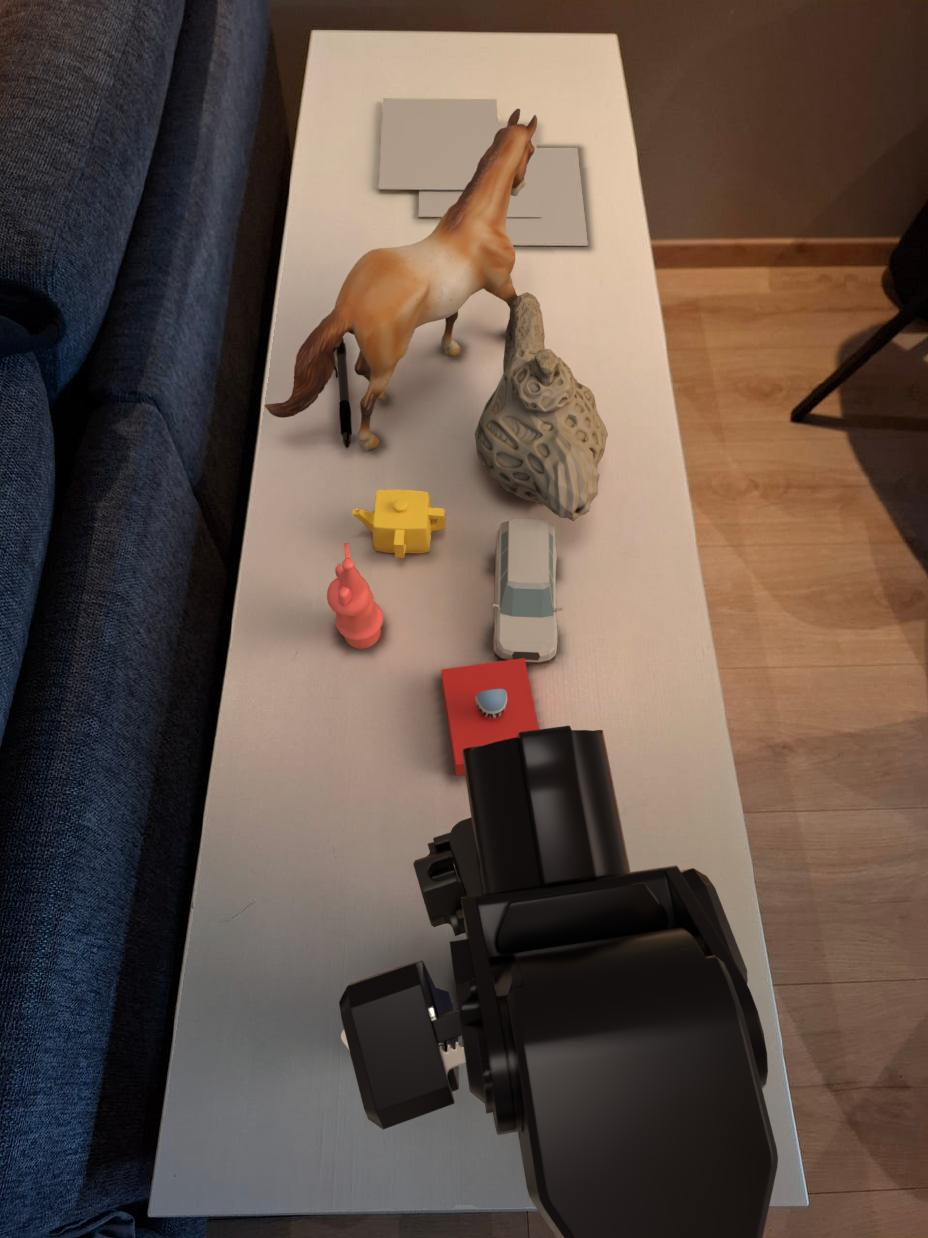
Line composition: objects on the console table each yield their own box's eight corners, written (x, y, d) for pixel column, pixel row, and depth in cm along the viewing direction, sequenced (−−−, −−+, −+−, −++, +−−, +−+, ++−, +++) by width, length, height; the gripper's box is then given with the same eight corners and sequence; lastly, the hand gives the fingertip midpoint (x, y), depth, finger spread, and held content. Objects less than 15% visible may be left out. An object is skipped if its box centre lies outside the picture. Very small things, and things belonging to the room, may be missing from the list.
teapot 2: (623, 549, 77) (660, 444, 64) (499, 571, 76) (510, 468, 63) (563, 372, 87) (584, 248, 73) (451, 389, 86) (451, 266, 72)
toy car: (489, 669, 72) (491, 644, 67) (492, 539, 78) (495, 508, 73) (557, 672, 72) (565, 647, 67) (556, 541, 78) (562, 510, 73)
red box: (540, 763, 68) (548, 737, 63) (455, 775, 68) (456, 750, 62) (521, 671, 72) (528, 639, 66) (441, 682, 71) (440, 651, 66)
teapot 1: (353, 568, 76) (347, 537, 71) (359, 514, 79) (353, 480, 74) (444, 571, 76) (443, 540, 72) (446, 516, 79) (446, 483, 74)
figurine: (334, 613, 74) (315, 539, 63) (382, 606, 74) (370, 532, 64) (339, 656, 72) (320, 587, 62) (388, 649, 73) (377, 579, 62)
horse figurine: (508, 290, 92) (522, 99, 73) (559, 330, 89) (588, 143, 71) (274, 445, 82) (224, 271, 64) (325, 495, 80) (287, 328, 61)
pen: (330, 342, 88) (328, 333, 87) (346, 340, 88) (345, 332, 87) (336, 451, 82) (334, 443, 81) (353, 449, 82) (352, 442, 81)
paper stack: (572, 104, 106) (573, 99, 105) (587, 245, 95) (588, 240, 94) (383, 103, 106) (383, 97, 105) (376, 244, 94) (375, 239, 94)
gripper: (704, 745, 38) (627, 791, 52) (287, 879, 35) (330, 887, 50) (811, 1009, 34) (697, 979, 49) (359, 1177, 32) (382, 1092, 47)
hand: (526, 977), depth 49 cm, fingers open, 9 cm apart
